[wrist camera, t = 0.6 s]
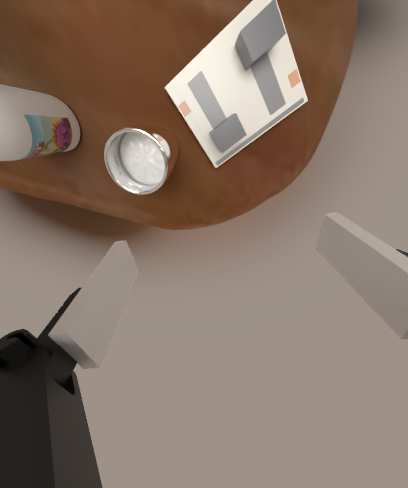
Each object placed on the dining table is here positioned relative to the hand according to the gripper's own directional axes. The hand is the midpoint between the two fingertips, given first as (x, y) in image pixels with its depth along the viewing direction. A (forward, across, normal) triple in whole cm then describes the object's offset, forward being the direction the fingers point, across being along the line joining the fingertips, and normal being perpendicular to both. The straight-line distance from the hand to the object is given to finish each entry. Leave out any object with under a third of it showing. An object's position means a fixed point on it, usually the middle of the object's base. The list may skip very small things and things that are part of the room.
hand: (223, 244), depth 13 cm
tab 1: (+22, +3, +5) cm, 23 cm away
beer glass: (+26, -8, +4) cm, 27 cm away
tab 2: (+22, +8, +14) cm, 28 cm away
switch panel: (+25, +5, +10) cm, 28 cm away
